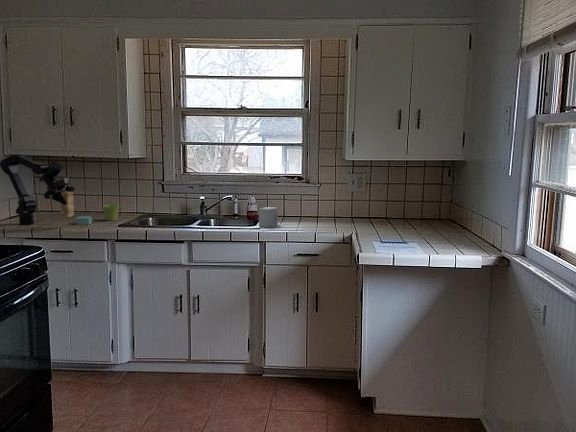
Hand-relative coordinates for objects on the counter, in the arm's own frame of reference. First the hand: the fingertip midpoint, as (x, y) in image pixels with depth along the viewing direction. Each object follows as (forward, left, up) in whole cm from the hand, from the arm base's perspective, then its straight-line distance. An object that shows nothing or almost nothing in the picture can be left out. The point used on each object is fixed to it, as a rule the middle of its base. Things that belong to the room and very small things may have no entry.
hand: (69, 204), depth 286 cm
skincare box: (+107, +15, -13) cm, 109 cm away
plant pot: (+13, +29, -13) cm, 34 cm away
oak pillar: (-1, 0, -7) cm, 7 cm away
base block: (+2, +15, -13) cm, 20 cm away
